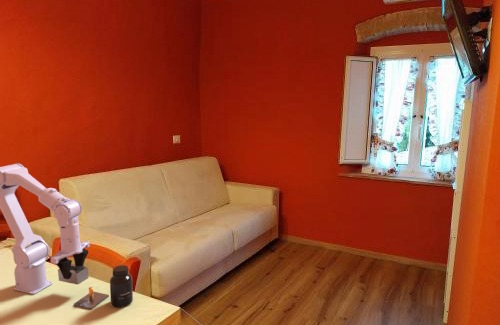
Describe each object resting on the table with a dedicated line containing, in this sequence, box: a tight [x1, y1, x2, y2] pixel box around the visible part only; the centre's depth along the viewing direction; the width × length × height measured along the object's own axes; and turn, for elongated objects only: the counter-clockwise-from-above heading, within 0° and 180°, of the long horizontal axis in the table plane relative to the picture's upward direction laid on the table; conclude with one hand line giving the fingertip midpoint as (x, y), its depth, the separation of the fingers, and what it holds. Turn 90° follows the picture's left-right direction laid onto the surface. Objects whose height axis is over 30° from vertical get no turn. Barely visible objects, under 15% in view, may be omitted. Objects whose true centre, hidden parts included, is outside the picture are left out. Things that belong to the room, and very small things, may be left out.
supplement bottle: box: [109, 264, 134, 309], centre depth 113 cm, size 7×7×12 cm
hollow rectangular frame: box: [57, 263, 90, 285], centre depth 118 cm, size 8×5×4 cm, turn 72°
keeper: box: [73, 286, 110, 310], centre depth 114 cm, size 7×8×5 cm
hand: (73, 274), depth 118 cm, fingers closed on hollow rectangular frame, 5 cm apart
